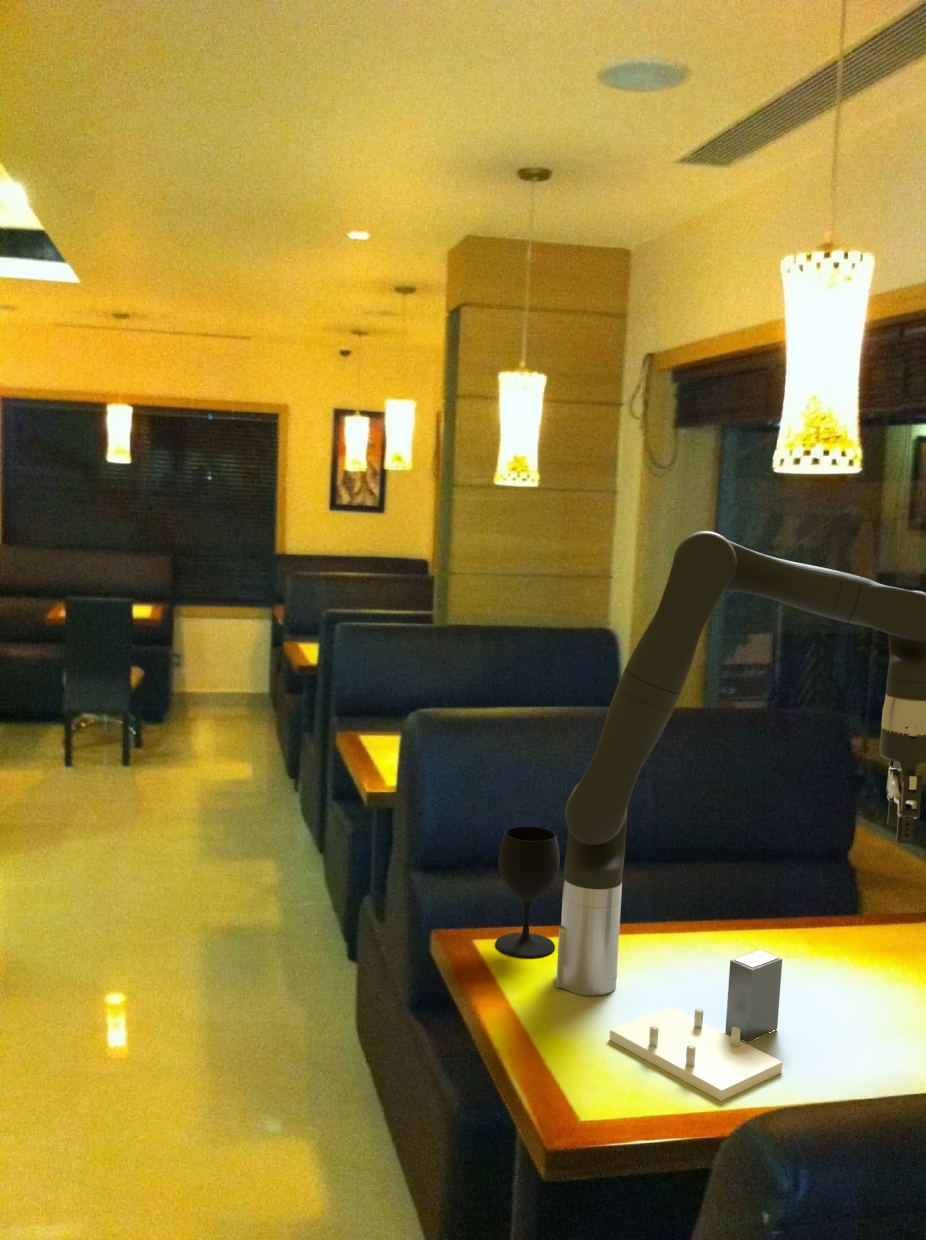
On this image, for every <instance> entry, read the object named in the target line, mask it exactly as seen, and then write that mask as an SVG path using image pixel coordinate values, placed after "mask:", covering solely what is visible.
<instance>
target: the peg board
mask: <svg viewBox="0 0 926 1240" xmlns="http://www.w3.org/2000/svg"><path fill="white" fill-rule="evenodd" d="M609 1040H610V1041H611V1042H613V1043H614V1044H617V1045H619V1046H620V1047H622V1048H624V1049H626V1050H627V1051H629V1052H631V1053H633V1054H635V1055H636V1056H638V1057H640V1058H642V1059H643V1060H645V1061H648V1062H650V1063H651V1064H653V1065H655V1066H656V1067H659V1068H660V1069H662V1070H663V1071H666V1072H668V1073H669V1074H671V1075H672V1076H675V1077H677V1078H678V1079H680V1080H682V1081H684V1082H686V1083H687V1084H689V1085H691V1086H693V1087H695V1088H696V1089H698V1090H700V1091H701V1092H704V1093H706V1094H707V1095H709V1096H711V1097H713V1098H714V1099H716V1100H718V1101H720V1102H722V1101H725V1100H727V1099H729V1098H730V1097H734V1096H735V1095H737V1094H739V1093H742V1092H743V1091H746V1090H748V1089H750V1088H753V1087H754V1086H756V1085H758V1084H760V1083H762V1082H765V1081H766V1080H769V1079H771V1078H773V1077H775V1076H777V1075H779V1074H781V1073H783V1061H781V1060H779V1059H777V1058H775V1057H773V1056H771V1055H769V1054H767V1053H765V1052H763V1051H761V1050H760V1049H757V1048H755V1047H753V1046H751V1045H749V1044H748V1043H747V1044H746V1042H744V1041H742V1040H740V1028H739V1027H732V1031H731V1035H730V1034H728V1033H726V1032H722V1031H720V1030H718V1029H716V1028H714V1027H712V1026H710V1025H708V1024H706V1023H705V1022H704V1010H703V1009H701V1008H695V1009H694V1017H692V1016H691V1015H688V1014H686V1013H684V1012H682V1011H679V1010H678V1009H676V1008H674V1007H672V1006H669V1007H666V1008H664V1009H662V1010H661V1009H660V1010H658V1011H656V1012H653V1013H651V1014H648V1015H645V1016H643V1017H640V1018H637V1019H635V1020H633V1021H629V1022H626V1023H624V1024H621V1025H619V1026H616V1027H613V1028H611V1029H609Z"/></svg>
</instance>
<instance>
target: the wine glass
mask: <svg viewBox="0 0 926 1240" xmlns="http://www.w3.org/2000/svg"><path fill="white" fill-rule="evenodd" d="M559 847H560V846H559V842H558V838H557V835H556V833H555V832H554V831H552V830H550V829H548V828H544V827H540V826H539V827H538V826H530V825H529V826H528V825H525V826H523V825H520V826H514V827H509V828H508V829H506V830H505V831H504V834H503V837H502V840H501V843H500V847H499V853H498V867H499V868H498V869H499V873H500V876H501V879H502V881H503V883H504V885H505V886H506V888H507V889H508V890H509V891H510V892H511V893H512V894H513V895H515V896H516V897H517V898H518V899H519V900H520V901H521V902H522V905H523V925H522V931H521V932H510V933H506V934H503V935H501V936H499V937H497V939H496V940H495V947H496V949H497V951H499V952H500V953H503V954H504V955H507V956H511V957H514V958H520V959H539V958H544V957H547V956H550V955H551V954H552V953H554V952H555V949H556V944H555V942H554V941H553V940H552V939H551V938H548V937H546V936H544V935H540V934H537V933H532V932H530V913H531V907H532V903H533V902H534V901H536V900H537V899H538V898H540V897H541V896H543V895H545V894H546V892H548V891H549V890H550V888H552V886H553V885H554V884H555V882H556V879H557V877H558V874H559V869H560V865H561V862H560V861H561V859H560V857H561V856H560V855H561V854H560V848H559Z"/></svg>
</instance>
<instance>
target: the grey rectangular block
mask: <svg viewBox="0 0 926 1240" xmlns="http://www.w3.org/2000/svg"><path fill="white" fill-rule="evenodd" d="M782 969H783V958H781V957H778V956H776V955H774V954H771V953H768V952H767V951H764V950H762V949H759V950H755V951H753V952H750V953H748V954H744V955H742V956H738V957H735V958H733V959H730V961H729V973H728V985H727V987H728V988H727V989H728V990H727V1004H726V1014H725V1015H726V1017H725V1018H726V1019H725V1032H724V1033H726V1032H727V1033H726V1034H728V1033H729V1034H728V1035H730V1034H731V1031H732V1027H739V1028H740V1039H741V1040H740V1041H742V1040H744V1041H746V1042H747V1044H749V1043H751V1042H750V1041H752V1040H754V1039H756V1038H758V1037H761V1036H763V1035H765V1034H767V1033H769V1032H772V1031H773V1030H776V1029H777V1030H778V1025H779V1024H778V1023H779V1011H780V1009H779V1008H780V995H781V984H782V983H781V982H782ZM772 1033H773V1032H772ZM765 1036H766V1035H765ZM763 1037H764V1036H763ZM761 1038H762V1037H761ZM756 1040H757V1039H756ZM744 1041H743V1042H744ZM754 1041H755V1040H754ZM746 1042H745V1043H746ZM748 1042H749V1043H748ZM752 1042H753V1041H752Z"/></svg>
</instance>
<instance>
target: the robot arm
mask: <svg viewBox="0 0 926 1240" xmlns="http://www.w3.org/2000/svg"><path fill="white" fill-rule="evenodd" d="M672 559H673V560H672V564H671V568H670V572H669V575H668V578H667V582H666V585H665V588H664V591H663V594H662V596H661V600H660V601H659V605H658V608H657V609H656V611H655V614H654V615H653V618H652V619H651V621H650V623H649V624H648V625H647V627H646V629H645V631H644V632H643V634H642V635H641V637H640V639H639V640H638V642H637V644H636V646H635V647H634V649H633V651H632V654H631V655H630V657H629V659H628V661H627V663H626V665H625V668H624V670H623V672H622V675H621V677H620V678H619V682H618V684H617V686H616V689H615V691H614V693H613V696H612V700H611V702H610V705H609V708H608V711H607V713H606V717H605V720H604V724H603V726H602V731H601V734H600V738H599V740H598V744H597V747H596V750H595V751H594V752H595V753H594V754H593V757H592V759H591V761H590V762H589V764H588V767H587V768H586V770H585V772H584V774H583V776H582V777H581V779H580V781H579V782H577V784H576V785H575V786H574V787H573V789H572V791H571V793H570V795H569V797H568V799H567V801H566V804H565V810H564V814H565V815H564V816H565V823H566V826H567V841H566V849H565V850H566V851H565V857H564V862H563V880H562V886H563V887H562V900H561V902H562V903H561V904H562V905H561V921H560V927H559V930H558V942H557V943H558V945H557V963H556V964H557V965H556V985H555V986H556V988H561V989H565V990H567V991H569V992H571V993H574V994H578V995H581V996H582V995H584V996H603V995H606V994H610V993H612V992H613V991H615V989H616V987H617V978H618V960H619V959H618V958H619V942H620V924H621V907H622V906H621V905H622V890H623V889H622V888H623V873H624V872H623V871H624V864H625V863H624V862H625V855H626V840H627V839H626V838H627V825H628V823H627V822H628V806H629V802H630V799H631V796H632V793H633V791H634V787H635V784H636V782H637V780H638V777H639V774H640V772H641V770H642V768H643V766H644V765H645V762H646V761H647V759H648V757H649V756H650V754H651V752H652V751H653V749H654V748H655V746H656V745H657V743H658V740H660V737H661V735H662V734H663V732H664V730H665V727H666V726H667V724H668V722H669V721H670V720H669V719H670V718H671V716H672V714H673V713H674V710H675V707H676V705H677V703H678V701H679V699H680V696H681V693H682V692H683V689H684V687H685V684H686V681H687V679H688V676H689V673H690V670H691V668H692V664H693V662H694V659H695V658H694V657H695V655H696V651H697V648H698V644H699V641H700V637H701V636H702V633H703V630H704V628H705V626H706V624H707V622H708V620H709V619H710V616H711V615H712V612H713V610H714V608H715V607H716V605H717V603H718V602H719V600H720V599H721V597H722V595H723V593H724V591H731V592H736V593H737V592H738V593H739V592H740V593H746V594H749V595H755V596H759V597H762V598H766V599H769V600H773V601H776V602H779V603H780V604H781V603H782V604H784V605H788V606H790V607H792V608H795V609H798V610H801V611H804V612H806V613H811V614H814V615H817V616H821V617H824V618H828V619H831V620H835V621H840V622H843V623H848V624H851V625H856V626H862V627H863V626H864V627H867V628H871V629H874V630H876V631H877V630H878V631H880V632H883V633H885V634H888V648H889V650H888V653H889V660H888V661H889V662H888V668H887V669H888V670H887V676H886V687H885V688H886V689H885V700H884V701H883V702H884V704H883V707H882V713H881V714H882V715H881V716H882V717H881V725H880V726H881V728H880V741H879V754H880V755H879V756H881V757H882V758H883V759H886V760H888V768H887V769H888V770H887V772H888V773H887V780H886V787H885V791H886V794H887V796H886V797H887V800H888V807H887V808H888V809H887V810H888V811H887V821H886V823H887V826H890V827H894V828H896V834H895V835H896V837H895V839H896V841H897V842H898V843H900V844H909V845H910V844H912V843H913V842H914V835H915V834H914V833H915V824H916V819H919V818H920V816H921V803H922V802H921V801H922V789H923V787H922V786H923V782H924V780H923V777H922V776H921V775H922V774H921V773H920V774H919V771H918V765H920V764H926V592H925V591H921V590H910V589H904V588H900V587H896V586H895V587H894V586H892V585H890V586H889V585H885V584H882V583H879V582H876V581H874V580H873V579H869V578H866V577H864V576H863V577H862V576H860V575H859V576H858V575H856V574H852V573H847V572H845V571H839V570H834V569H831V568H826V567H820V566H816V565H813V564H812V565H811V564H806V563H800V562H795V561H791V560H787V559H782V558H778V557H774V556H770V555H768V554H767V555H766V554H765V553H764V554H763V553H761V552H759V551H755V550H753V549H750V548H747V547H745V546H742V545H740V544H737V543H736V542H732V541H731V540H729V539H727V538H726V537H725V536H724V535H722V534H720V533H717V532H714V531H709V530H702V531H696V532H694V533H691V534H689V535H688V536H687V537H685V538H684V539H683V540H682V541H681V542H680V543H679V545H678V546H677V548H676V549H675V551H674V555H673V558H672ZM907 804H908V805H911V808H908V807H906V806H907Z"/></svg>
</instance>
